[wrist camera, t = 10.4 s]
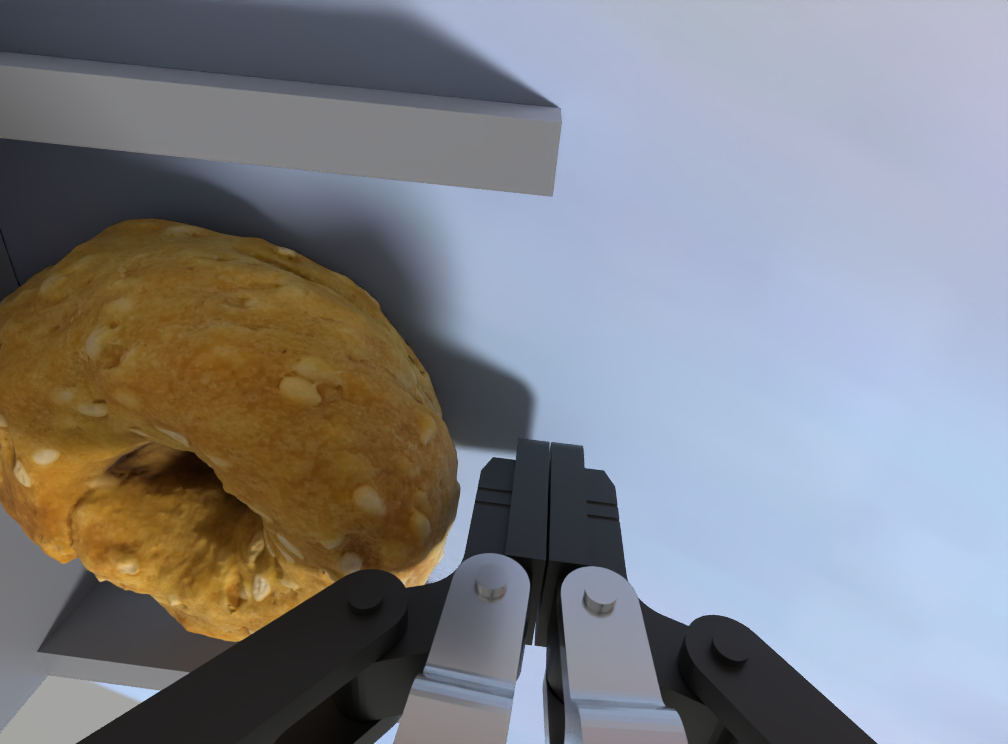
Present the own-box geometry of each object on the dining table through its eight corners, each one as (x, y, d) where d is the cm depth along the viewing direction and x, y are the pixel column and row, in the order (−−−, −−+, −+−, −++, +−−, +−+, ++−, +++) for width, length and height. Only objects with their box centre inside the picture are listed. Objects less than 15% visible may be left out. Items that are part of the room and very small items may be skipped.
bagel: (33, 111, 11) (-271, 147, 7) (537, 324, 13) (530, 456, 9) (37, 465, 16) (-143, 610, 12) (404, 590, 17) (358, 758, 13)
